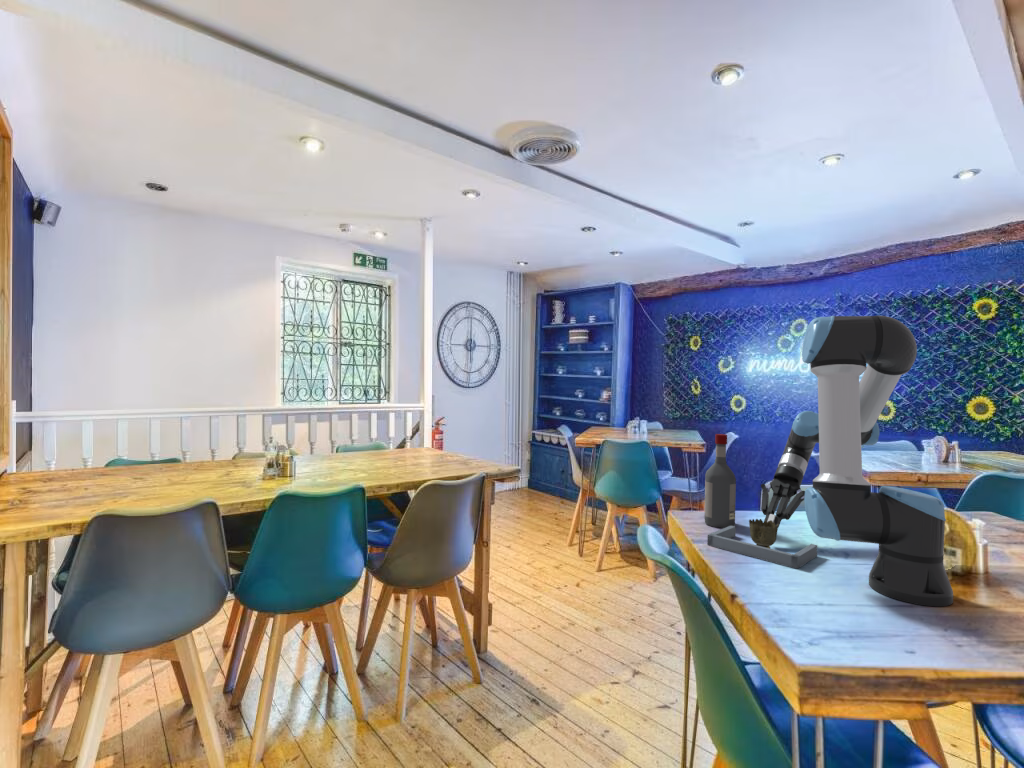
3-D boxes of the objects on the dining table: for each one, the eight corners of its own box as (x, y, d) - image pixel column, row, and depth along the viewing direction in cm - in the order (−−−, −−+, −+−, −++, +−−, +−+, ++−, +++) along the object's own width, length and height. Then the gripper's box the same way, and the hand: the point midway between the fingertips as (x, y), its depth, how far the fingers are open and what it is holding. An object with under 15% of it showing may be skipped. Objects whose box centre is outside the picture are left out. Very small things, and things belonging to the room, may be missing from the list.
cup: (782, 555, 139) (783, 526, 139) (754, 553, 140) (755, 525, 140) (770, 546, 147) (771, 518, 147) (744, 545, 147) (745, 517, 147)
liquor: (705, 526, 166) (707, 435, 166) (704, 519, 175) (706, 432, 174) (735, 529, 163) (737, 436, 163) (732, 522, 172) (734, 434, 171)
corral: (817, 556, 139) (817, 545, 139) (797, 568, 129) (797, 557, 129) (730, 535, 157) (730, 525, 157) (707, 544, 147) (707, 534, 147)
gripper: (816, 482, 154) (794, 548, 143) (771, 475, 164) (748, 537, 153) (810, 467, 151) (788, 533, 140) (765, 461, 160) (740, 522, 149)
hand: (767, 535), depth 146 cm, fingers closed
